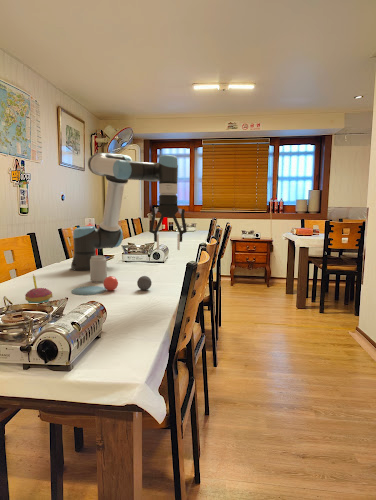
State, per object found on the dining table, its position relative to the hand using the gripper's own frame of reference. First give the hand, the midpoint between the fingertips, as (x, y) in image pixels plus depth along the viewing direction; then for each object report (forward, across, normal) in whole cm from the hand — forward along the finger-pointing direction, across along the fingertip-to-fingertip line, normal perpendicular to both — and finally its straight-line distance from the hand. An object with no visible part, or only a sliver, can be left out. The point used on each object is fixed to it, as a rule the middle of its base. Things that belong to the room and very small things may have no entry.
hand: (168, 249), depth 139 cm
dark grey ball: (+14, -10, 0) cm, 17 cm away
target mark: (+17, -33, 0) cm, 37 cm away
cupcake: (+18, -45, -23) cm, 53 cm away
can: (+17, -32, +17) cm, 40 cm away
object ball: (+14, -24, 0) cm, 28 cm away
